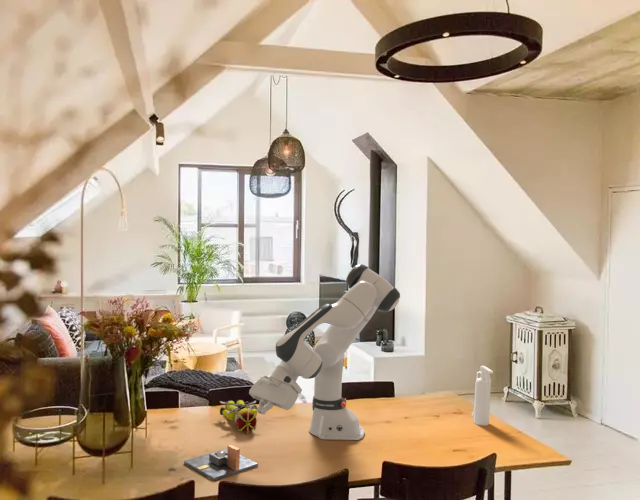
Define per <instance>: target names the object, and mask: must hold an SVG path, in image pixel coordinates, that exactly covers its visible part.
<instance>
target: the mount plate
mask: <svg viewBox="0 0 640 500" xmlns="http://www.w3.org/2000/svg"><path fill="white" fill-rule="evenodd" d="M222 450H225V451H222ZM226 451H227V448H224V449H221V451H220V450H217V451H213V452H212V453H214V452H217V456H218V457H222V456H226ZM210 453H211V452H210ZM210 453H207V454H204V455H199V456H196V457H194V458H189V459H186V460H184V461H183V464H184V465H186V466H188V467H189V468H191V469H192V470H195V471H196V472H198V473H199V474H201V475H203V477H206V478H207V479H209V480H211V481H213V482H214V481H218V480H221V479H223V478H227V477H230V476H233V475H236V474H239V473H242V472H243V473H244V472H245V471H248V470H251V469H254V468H258V467H259V464H258V462H256V461H253V460H251V459H250V458H248V457H246V456H244V455H243V454H240V461H239V470H236V471H235V470H234V469H232V468H230V467H228V466H227V465H225V464H224V465H221V466H218V465H216V464H214V463H212V462H210V461H209V454H210Z"/></svg>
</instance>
